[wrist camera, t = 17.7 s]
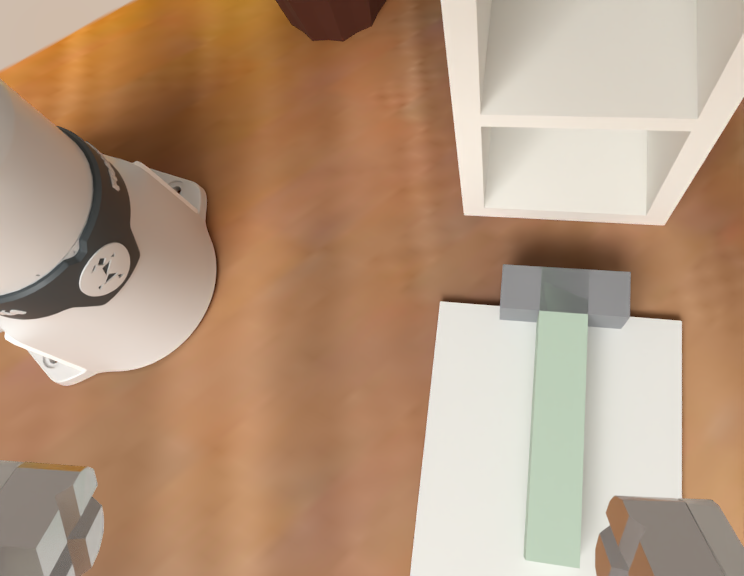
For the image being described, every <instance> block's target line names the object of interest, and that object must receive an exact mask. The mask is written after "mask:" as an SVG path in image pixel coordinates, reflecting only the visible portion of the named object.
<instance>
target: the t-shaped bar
mask: <svg viewBox="0 0 744 576" xmlns="http://www.w3.org/2000/svg"><path fill="white" fill-rule="evenodd" d="M630 279H631V272H622V271H605V270H588V269H572V268H555V267H538V266H521V265H504V264H503V272H502V285H501V299H500V320H510V321H523V322H536V323H537V324H536V342H535V359H534V377H533V395H532V412H531V430H530V448H529V465H528V483H527V501H526V518H525V536H524V554H523V556H524V558H525V560H527V561H533V562H540V563H547V564H553V565H560V566H566V567H573V568H580V545H581V514H582V484H583V454H584V424H585V394H586V364H587V334H588V327H601V328H614V329H622V327H623V326H624V325H625V323H626V322H627V321H628V319H629V318H630Z"/></svg>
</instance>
